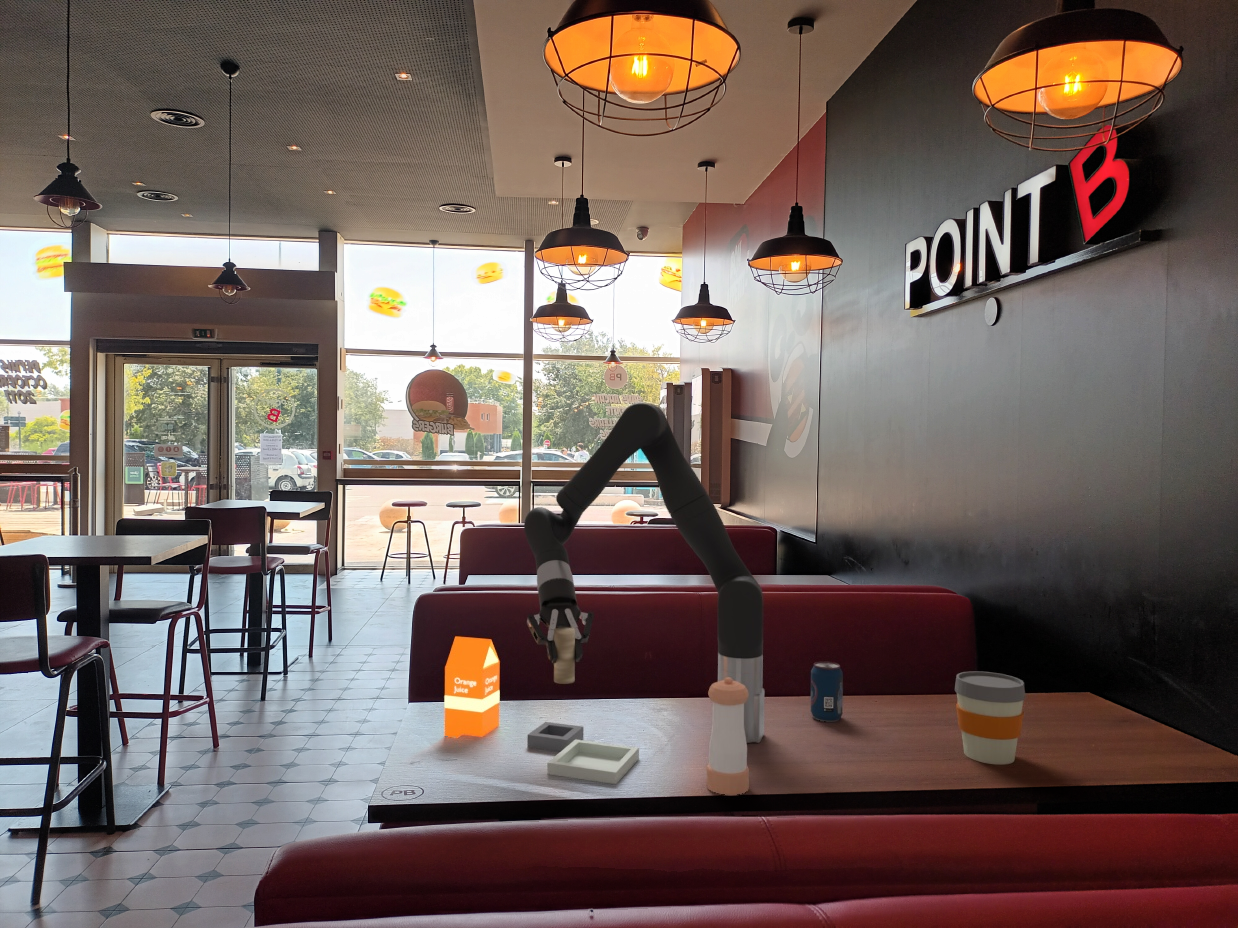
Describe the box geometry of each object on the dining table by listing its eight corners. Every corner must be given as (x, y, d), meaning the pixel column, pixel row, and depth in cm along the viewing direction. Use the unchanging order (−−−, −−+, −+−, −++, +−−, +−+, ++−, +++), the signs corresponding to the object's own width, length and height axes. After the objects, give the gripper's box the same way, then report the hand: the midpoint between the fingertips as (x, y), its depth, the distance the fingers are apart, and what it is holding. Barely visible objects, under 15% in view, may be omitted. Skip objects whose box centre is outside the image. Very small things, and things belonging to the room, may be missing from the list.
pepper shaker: (702, 791, 137) (702, 680, 137) (712, 776, 144) (713, 670, 144) (743, 798, 135) (744, 685, 135) (752, 782, 141) (753, 674, 142)
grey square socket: (583, 743, 160) (583, 726, 161) (566, 757, 153) (567, 739, 153) (545, 738, 163) (545, 721, 163) (527, 752, 155) (527, 734, 155)
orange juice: (481, 741, 161) (482, 643, 161) (443, 736, 164) (444, 639, 164) (499, 729, 169) (500, 635, 169) (463, 725, 172) (463, 632, 172)
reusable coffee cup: (940, 749, 159) (940, 674, 159) (986, 741, 164) (986, 668, 164) (992, 771, 147) (992, 690, 147) (1040, 762, 152) (1040, 684, 152)
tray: (638, 763, 150) (639, 747, 150) (615, 789, 138) (615, 772, 138) (575, 754, 154) (575, 739, 154) (547, 779, 142) (547, 762, 142)
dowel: (577, 678, 156) (577, 628, 156) (570, 684, 152) (570, 632, 152) (558, 677, 157) (558, 626, 157) (550, 682, 153) (551, 630, 153)
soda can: (809, 712, 182) (809, 660, 182) (840, 713, 181) (840, 661, 181) (812, 721, 176) (812, 667, 176) (844, 723, 175) (845, 668, 175)
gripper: (523, 577, 160) (531, 651, 148) (592, 575, 164) (605, 647, 152) (520, 599, 165) (527, 672, 153) (587, 597, 169) (599, 668, 157)
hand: (566, 659), depth 153 cm, fingers closed on dowel, 4 cm apart
